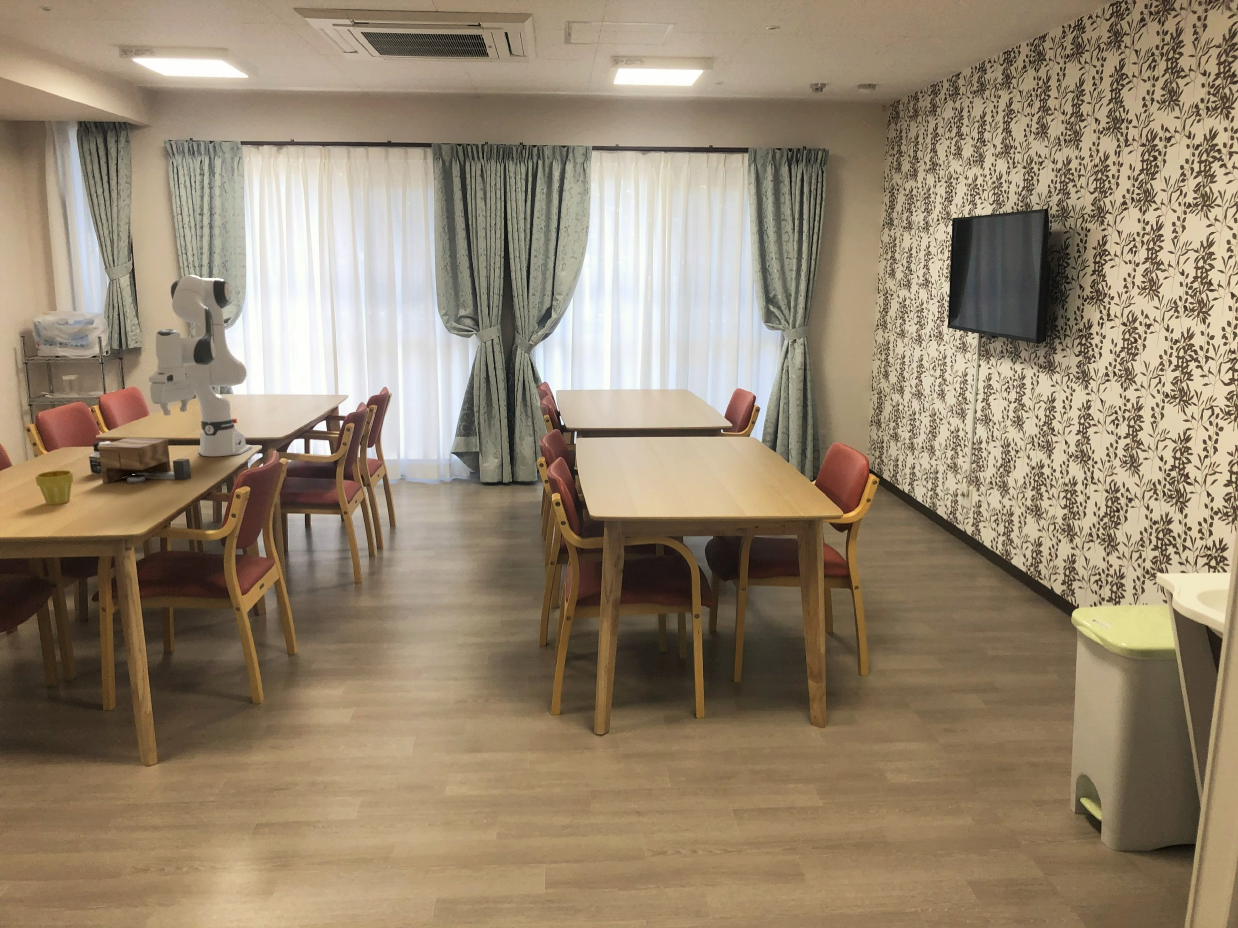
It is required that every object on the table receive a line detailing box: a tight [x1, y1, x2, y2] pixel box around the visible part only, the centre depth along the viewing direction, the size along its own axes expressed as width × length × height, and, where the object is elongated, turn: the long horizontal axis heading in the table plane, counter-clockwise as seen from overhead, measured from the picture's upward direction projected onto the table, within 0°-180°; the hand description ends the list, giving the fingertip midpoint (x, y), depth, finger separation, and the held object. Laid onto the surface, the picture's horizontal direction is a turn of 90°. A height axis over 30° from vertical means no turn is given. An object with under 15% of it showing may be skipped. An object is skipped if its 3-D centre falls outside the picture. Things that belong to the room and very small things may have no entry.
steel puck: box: [125, 474, 147, 485], centre depth 329 cm, size 6×6×2 cm
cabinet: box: [97, 437, 172, 484], centre depth 333 cm, size 17×16×14 cm
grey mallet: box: [135, 458, 192, 481], centre depth 335 cm, size 4×20×7 cm, turn 82°
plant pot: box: [35, 469, 74, 506], centre depth 300 cm, size 10×10×10 cm
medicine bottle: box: [88, 440, 111, 476], centre depth 342 cm, size 7×7×12 cm
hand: (175, 413), depth 330 cm, fingers open, 8 cm apart
